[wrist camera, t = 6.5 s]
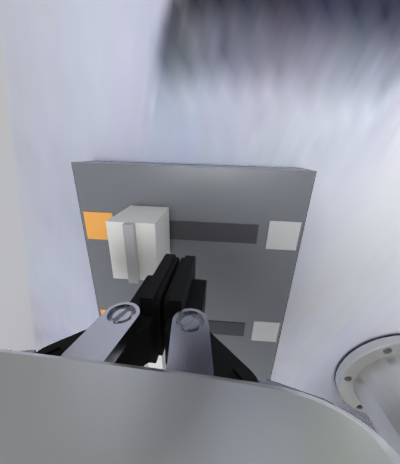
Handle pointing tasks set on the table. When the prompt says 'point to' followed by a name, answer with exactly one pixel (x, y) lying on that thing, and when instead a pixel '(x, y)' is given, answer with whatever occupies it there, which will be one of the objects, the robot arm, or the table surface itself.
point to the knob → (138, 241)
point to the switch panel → (209, 239)
